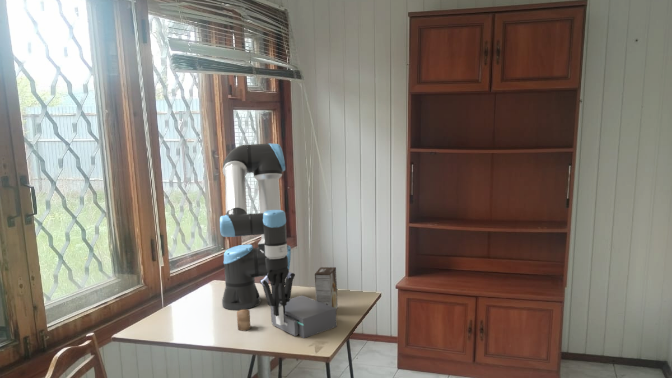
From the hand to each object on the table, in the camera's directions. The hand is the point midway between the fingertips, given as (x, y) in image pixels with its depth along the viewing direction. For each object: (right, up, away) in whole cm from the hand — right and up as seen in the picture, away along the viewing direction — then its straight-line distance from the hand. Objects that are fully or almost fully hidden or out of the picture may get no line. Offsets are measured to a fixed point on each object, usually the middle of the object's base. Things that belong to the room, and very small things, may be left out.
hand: (280, 323), depth 168 cm
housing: (+8, -2, +6) cm, 10 cm away
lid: (+6, +1, +5) cm, 8 cm away
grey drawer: (+6, -2, +5) cm, 8 cm away
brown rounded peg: (-13, -3, +5) cm, 14 cm away
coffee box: (+16, -1, +18) cm, 24 cm away
